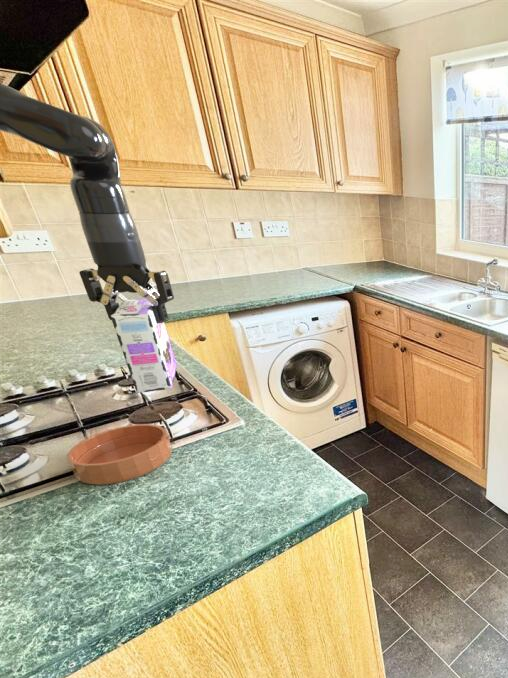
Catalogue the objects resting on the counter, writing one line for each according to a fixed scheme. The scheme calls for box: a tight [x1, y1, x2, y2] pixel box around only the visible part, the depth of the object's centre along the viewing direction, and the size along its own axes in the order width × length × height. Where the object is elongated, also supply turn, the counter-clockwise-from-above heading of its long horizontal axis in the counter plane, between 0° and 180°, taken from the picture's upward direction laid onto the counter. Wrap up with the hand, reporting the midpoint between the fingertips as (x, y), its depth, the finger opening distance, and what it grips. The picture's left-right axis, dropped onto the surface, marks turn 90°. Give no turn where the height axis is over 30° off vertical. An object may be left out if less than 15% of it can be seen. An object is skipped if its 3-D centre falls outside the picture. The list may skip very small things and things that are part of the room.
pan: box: [66, 423, 173, 486], centre depth 81 cm, size 14×14×4 cm
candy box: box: [111, 298, 178, 394], centre depth 88 cm, size 14×6×16 cm, turn 31°
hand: (140, 322), depth 86 cm, fingers closed on candy box, 7 cm apart
